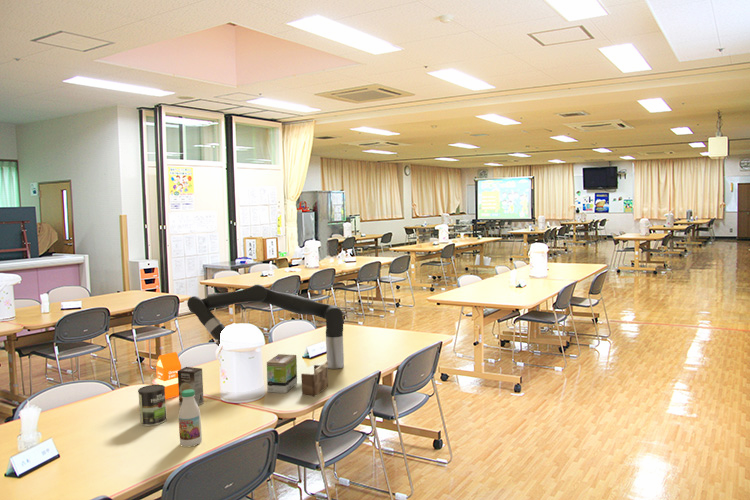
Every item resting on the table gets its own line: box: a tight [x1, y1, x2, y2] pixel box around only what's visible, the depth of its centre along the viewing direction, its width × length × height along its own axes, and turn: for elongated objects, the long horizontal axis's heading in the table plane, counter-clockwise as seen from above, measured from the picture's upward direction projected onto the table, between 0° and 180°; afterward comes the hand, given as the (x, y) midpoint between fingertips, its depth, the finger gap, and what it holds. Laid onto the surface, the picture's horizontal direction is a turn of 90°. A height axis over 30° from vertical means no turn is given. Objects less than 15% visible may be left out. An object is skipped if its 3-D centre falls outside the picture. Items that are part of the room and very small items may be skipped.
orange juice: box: [155, 351, 182, 400], centre depth 257 cm, size 8×9×20 cm
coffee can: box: [137, 384, 167, 427], centre depth 225 cm, size 10×10×14 cm
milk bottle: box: [178, 389, 203, 447], centre depth 202 cm, size 8×8×20 cm
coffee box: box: [178, 366, 205, 406], centre depth 244 cm, size 9×6×16 cm
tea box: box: [266, 353, 298, 394], centre depth 263 cm, size 15×10×15 cm, turn 168°
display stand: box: [300, 360, 329, 397], centre depth 257 cm, size 15×7×12 cm, turn 162°
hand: (237, 353), depth 270 cm, fingers open, 5 cm apart
